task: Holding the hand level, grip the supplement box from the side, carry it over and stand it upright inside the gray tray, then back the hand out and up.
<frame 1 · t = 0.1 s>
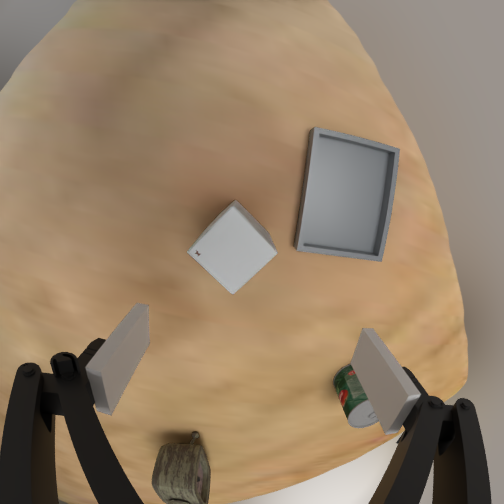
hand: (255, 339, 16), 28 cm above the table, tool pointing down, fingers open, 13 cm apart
canned tomato: (351, 377, 50), on the table
supplement box: (236, 232, 43), on the table
tabletop clock: (189, 443, 55), on the table
gray tray: (345, 195, 42), on the table
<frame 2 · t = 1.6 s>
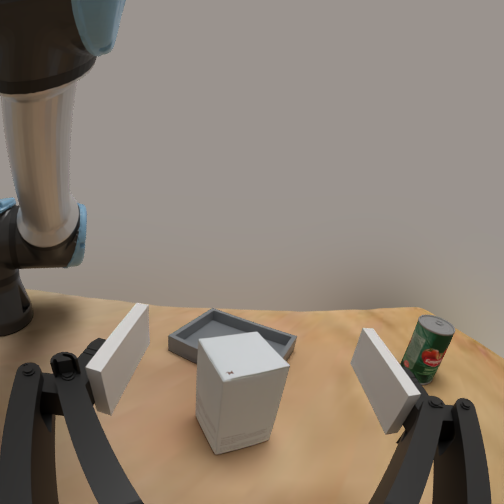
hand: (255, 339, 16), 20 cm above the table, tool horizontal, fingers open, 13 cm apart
canned tomato: (415, 374, 44), on the table
supplement box: (230, 429, 30), on the table
gray tray: (233, 351, 48), on the table
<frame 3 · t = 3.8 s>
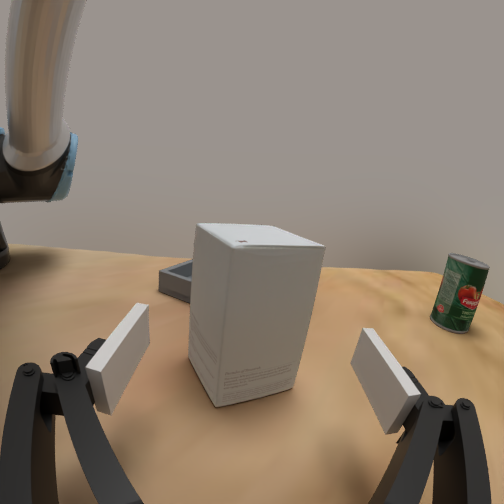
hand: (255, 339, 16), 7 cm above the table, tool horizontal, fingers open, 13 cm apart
canned tomato: (449, 324, 37), on the table
supplement box: (237, 375, 23), on the table
gray tray: (238, 294, 41), on the table
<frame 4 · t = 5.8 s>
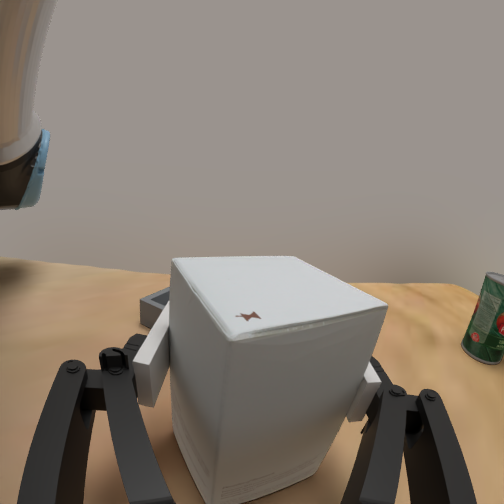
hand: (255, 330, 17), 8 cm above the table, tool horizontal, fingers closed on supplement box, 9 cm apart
canned tomato: (481, 352, 28), on the table
supplement box: (240, 457, 15), on the table, touching gripper
gray tray: (239, 327, 32), on the table
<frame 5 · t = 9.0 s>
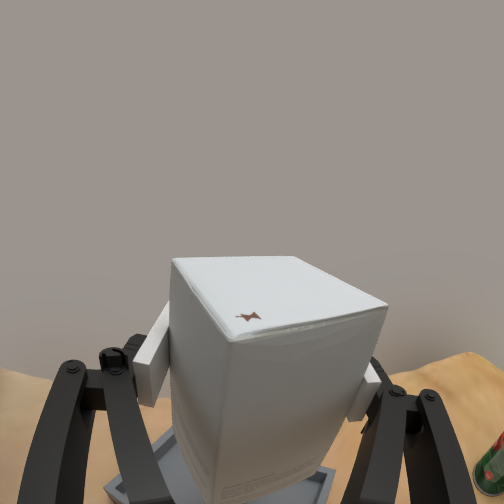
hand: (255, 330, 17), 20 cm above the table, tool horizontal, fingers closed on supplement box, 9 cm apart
canned tomato: (491, 477, 16), on the table
supplement box: (240, 457, 15), point 12 cm above the table, touching gripper
gray tray: (224, 502, 19), on the table
when the fingers open (10 cm above the table, at t = 12.1 s): supplement box drops 1 cm, resting on gray tray.
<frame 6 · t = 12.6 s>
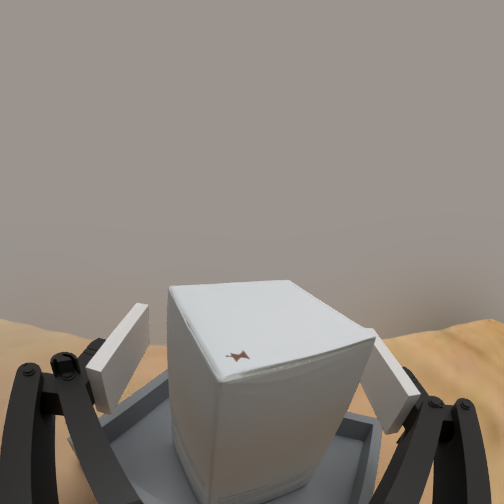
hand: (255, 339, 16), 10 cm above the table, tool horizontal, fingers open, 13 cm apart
supplement box: (236, 467, 15), point 1 cm above the table, touching gray tray
gray tray: (237, 470, 15), on the table
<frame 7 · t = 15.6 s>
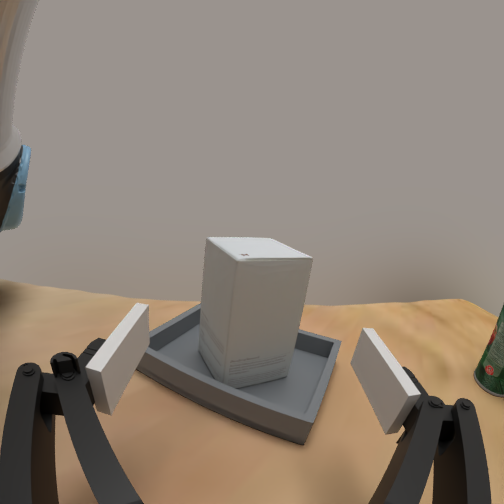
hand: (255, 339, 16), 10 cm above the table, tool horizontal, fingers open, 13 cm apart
canned tomato: (493, 382, 24), on the table
supplement box: (240, 365, 28), point 1 cm above the table, touching gray tray
gray tray: (241, 369, 28), on the table
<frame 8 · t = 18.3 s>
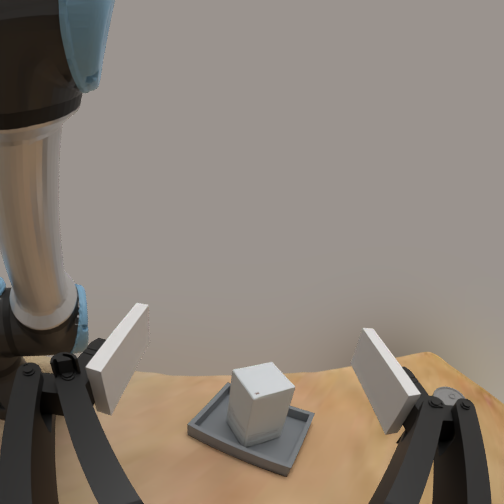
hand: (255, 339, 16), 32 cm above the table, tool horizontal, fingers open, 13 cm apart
canned tomato: (424, 437, 39), on the table
supplement box: (252, 429, 42), point 1 cm above the table, touching gray tray
gray tray: (252, 431, 43), on the table
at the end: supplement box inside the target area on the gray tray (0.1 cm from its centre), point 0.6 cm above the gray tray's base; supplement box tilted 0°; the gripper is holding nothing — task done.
